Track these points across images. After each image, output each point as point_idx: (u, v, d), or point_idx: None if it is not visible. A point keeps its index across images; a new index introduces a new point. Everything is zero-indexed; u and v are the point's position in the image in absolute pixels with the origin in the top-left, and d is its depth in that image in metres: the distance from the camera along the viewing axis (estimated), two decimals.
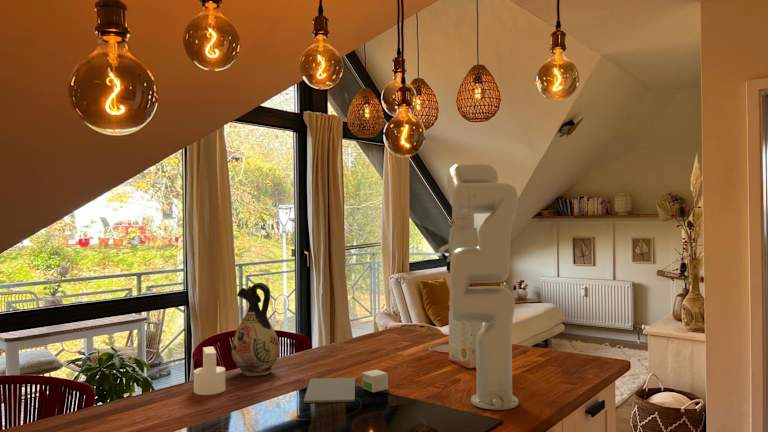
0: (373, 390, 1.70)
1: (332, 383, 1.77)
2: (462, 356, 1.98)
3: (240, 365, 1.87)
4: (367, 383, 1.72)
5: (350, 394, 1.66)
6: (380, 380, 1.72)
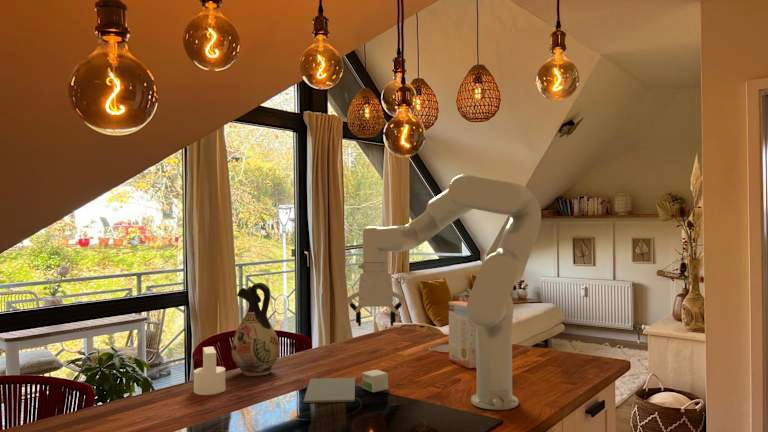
0: (373, 390, 1.70)
1: (332, 383, 1.77)
2: (462, 356, 1.98)
3: (240, 365, 1.87)
4: (367, 383, 1.72)
5: (350, 394, 1.66)
6: (380, 380, 1.72)
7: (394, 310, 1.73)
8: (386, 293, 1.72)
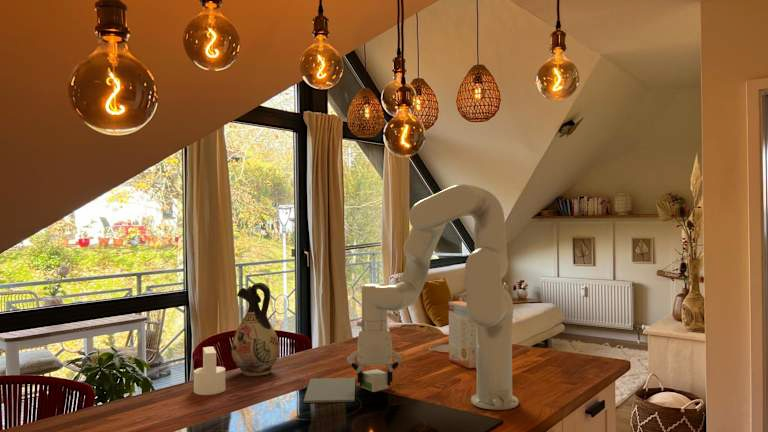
0: (373, 390, 1.70)
1: (332, 383, 1.77)
2: (462, 356, 1.98)
3: (240, 365, 1.87)
4: (367, 383, 1.72)
5: (350, 394, 1.66)
6: (380, 380, 1.72)
7: (391, 370, 1.73)
8: (385, 351, 1.71)
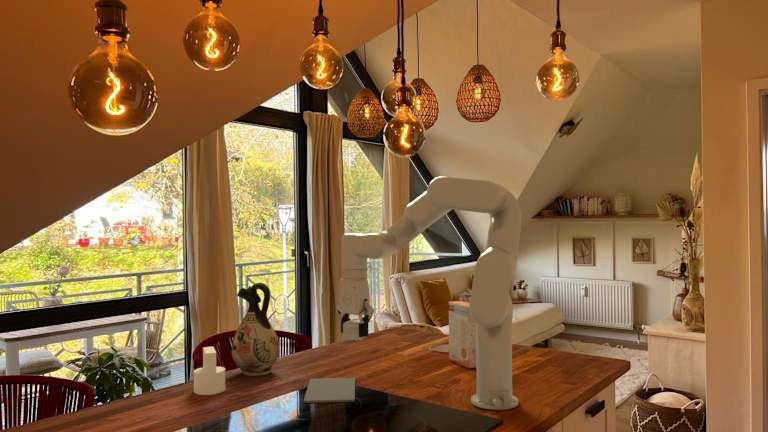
0: (343, 337, 1.71)
1: (332, 383, 1.77)
2: (462, 356, 1.98)
3: (240, 365, 1.87)
4: None
5: (350, 394, 1.66)
6: (351, 329, 1.71)
7: (361, 321, 1.69)
8: (354, 301, 1.69)
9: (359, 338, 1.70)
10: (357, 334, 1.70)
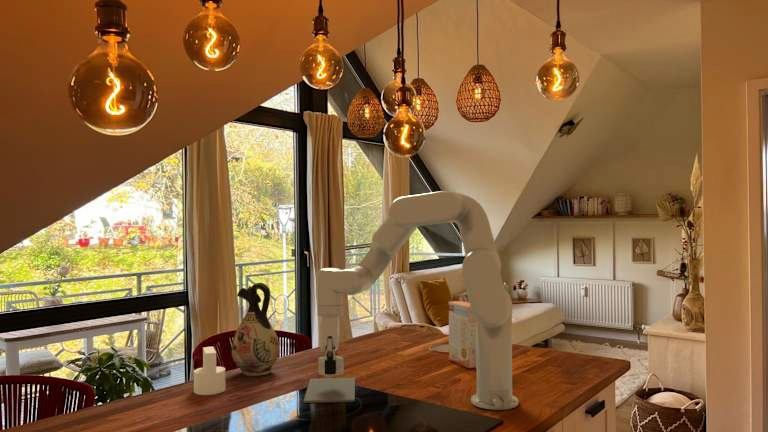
0: None
1: (332, 383, 1.77)
2: (462, 356, 1.98)
3: (240, 365, 1.87)
4: None
5: (350, 394, 1.66)
6: (322, 364, 1.71)
7: None
8: None
9: (326, 375, 1.69)
10: None
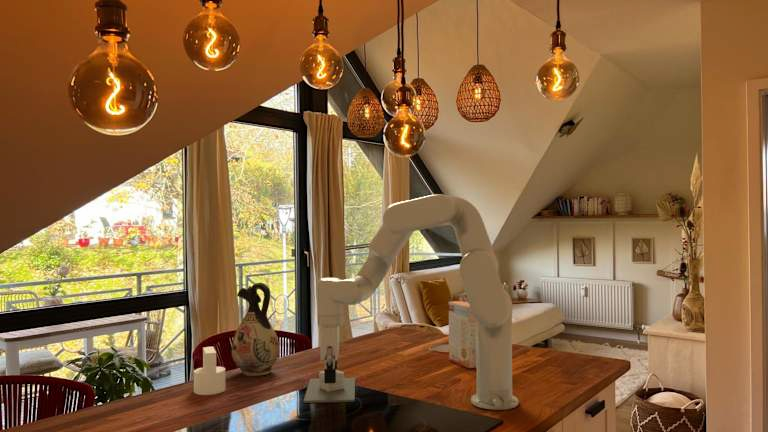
0: (319, 386, 1.73)
1: None
2: (462, 356, 1.98)
3: (240, 365, 1.87)
4: None
5: (350, 394, 1.66)
6: (323, 379, 1.71)
7: None
8: None
9: (327, 389, 1.69)
10: (326, 385, 1.69)
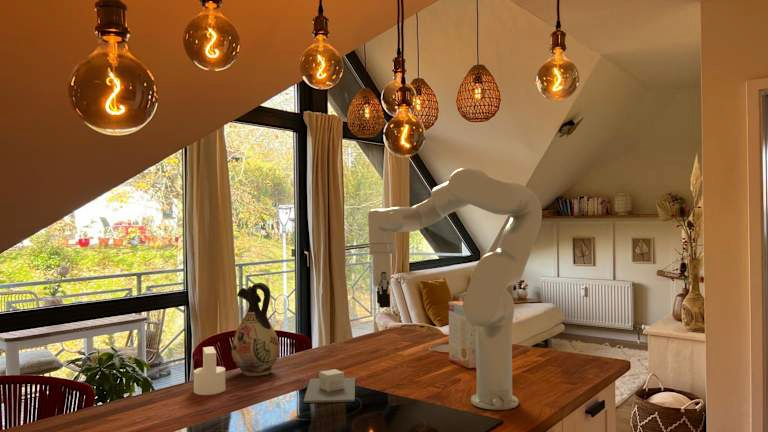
0: (319, 386, 1.73)
1: None
2: (462, 356, 1.98)
3: (240, 365, 1.87)
4: None
5: (350, 394, 1.66)
6: (323, 379, 1.71)
7: (380, 292, 1.73)
8: (374, 274, 1.76)
9: (327, 389, 1.69)
10: (326, 385, 1.69)
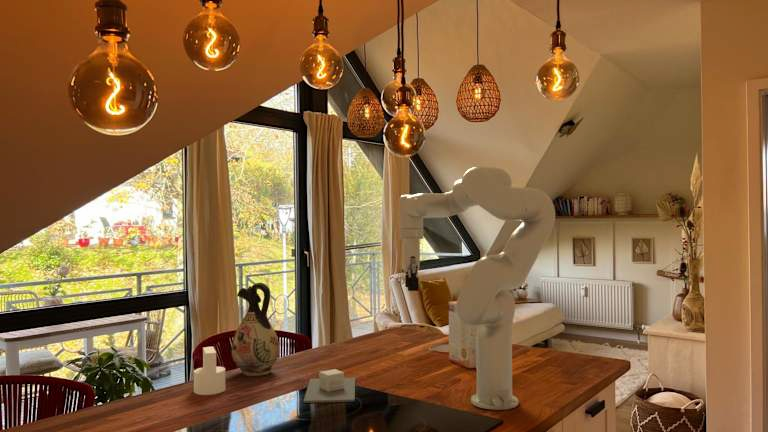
0: (319, 386, 1.73)
1: None
2: (462, 356, 1.98)
3: (240, 365, 1.87)
4: None
5: (350, 394, 1.66)
6: (323, 379, 1.71)
7: (409, 276, 1.78)
8: (403, 258, 1.80)
9: (327, 389, 1.69)
10: (326, 385, 1.69)
